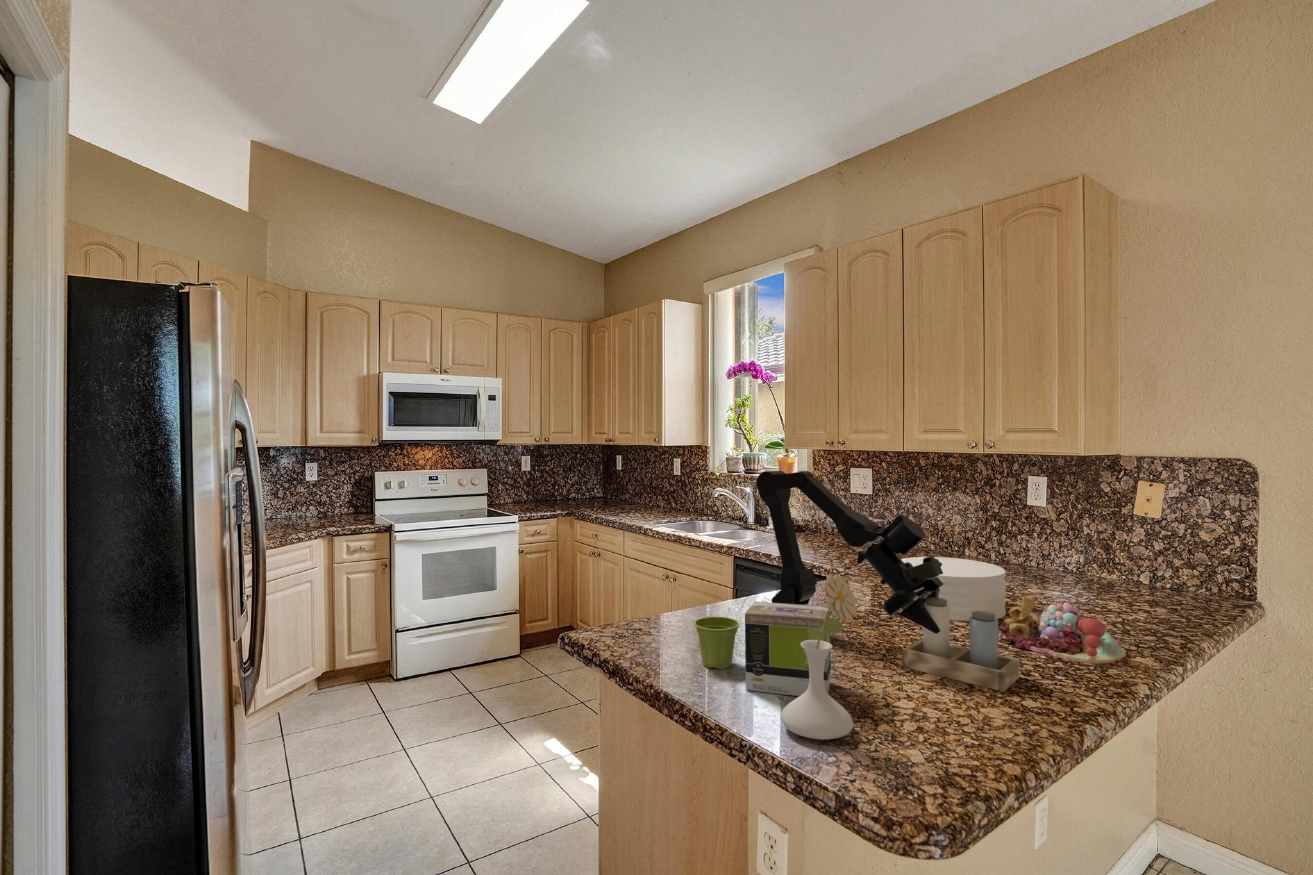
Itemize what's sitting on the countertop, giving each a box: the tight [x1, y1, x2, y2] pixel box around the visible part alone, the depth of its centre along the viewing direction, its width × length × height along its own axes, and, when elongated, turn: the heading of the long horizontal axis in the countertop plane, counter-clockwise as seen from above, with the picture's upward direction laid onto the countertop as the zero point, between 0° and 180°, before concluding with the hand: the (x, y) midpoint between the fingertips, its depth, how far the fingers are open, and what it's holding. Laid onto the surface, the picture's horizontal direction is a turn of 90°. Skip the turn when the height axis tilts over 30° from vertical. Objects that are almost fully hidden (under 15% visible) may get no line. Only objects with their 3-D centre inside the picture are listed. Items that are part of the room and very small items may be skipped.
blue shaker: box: [968, 611, 999, 670], centre depth 126 cm, size 5×5×12 cm
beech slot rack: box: [902, 638, 1020, 693], centre depth 129 cm, size 19×10×4 cm, turn 46°
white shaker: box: [922, 597, 951, 659], centre depth 132 cm, size 5×5×12 cm
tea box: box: [744, 601, 832, 697], centre depth 122 cm, size 15×10×15 cm
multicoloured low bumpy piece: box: [998, 595, 1127, 665], centre depth 147 cm, size 25×24×9 cm
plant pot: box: [693, 616, 740, 670], centre depth 134 cm, size 9×9×9 cm
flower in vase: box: [779, 572, 858, 740], centre depth 104 cm, size 13×11×25 cm
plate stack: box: [900, 556, 1007, 622], centre depth 179 cm, size 28×28×12 cm
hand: (943, 629), depth 131 cm, fingers closed on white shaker, 5 cm apart
